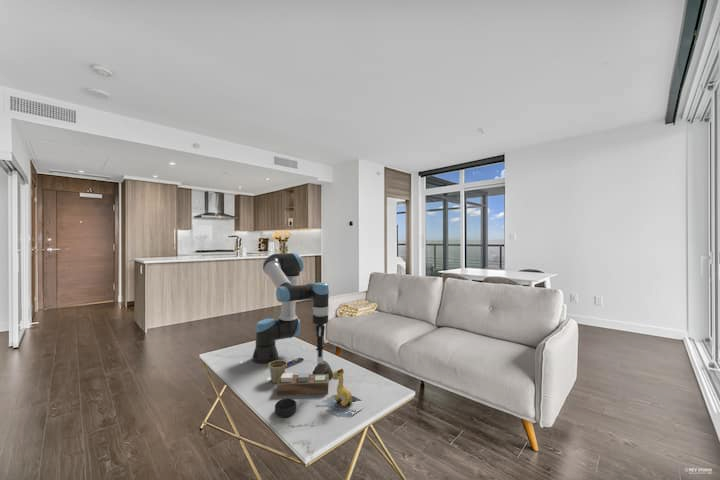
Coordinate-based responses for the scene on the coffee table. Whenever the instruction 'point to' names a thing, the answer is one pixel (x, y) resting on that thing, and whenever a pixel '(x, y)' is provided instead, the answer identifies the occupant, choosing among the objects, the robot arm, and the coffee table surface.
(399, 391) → the coffee table surface
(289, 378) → the cream key
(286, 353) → the coffee table surface
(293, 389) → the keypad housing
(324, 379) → the sage green key
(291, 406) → the smart speaker
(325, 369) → the fossil
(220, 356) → the coffee table surface
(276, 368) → the flower pot
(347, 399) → the stuffed giraffe
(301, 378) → the slate grey key
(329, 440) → the coffee table surface
